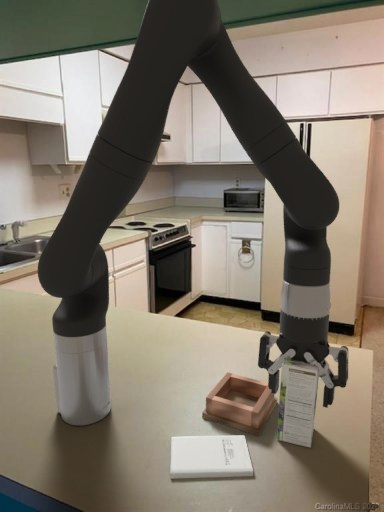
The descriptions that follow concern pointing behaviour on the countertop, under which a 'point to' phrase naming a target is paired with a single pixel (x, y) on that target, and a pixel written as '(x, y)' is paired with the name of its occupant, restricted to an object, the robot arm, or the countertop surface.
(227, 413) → the socket
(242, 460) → the external hard drive
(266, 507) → the countertop surface
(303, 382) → the syrup box
